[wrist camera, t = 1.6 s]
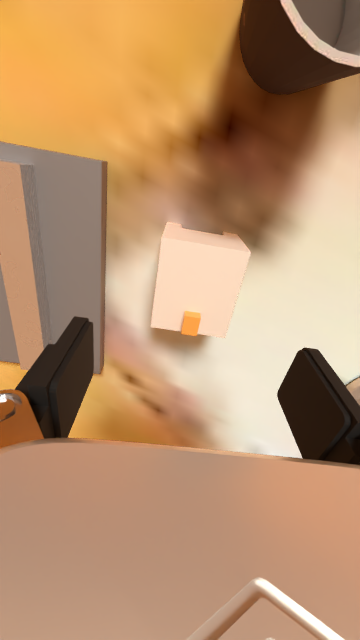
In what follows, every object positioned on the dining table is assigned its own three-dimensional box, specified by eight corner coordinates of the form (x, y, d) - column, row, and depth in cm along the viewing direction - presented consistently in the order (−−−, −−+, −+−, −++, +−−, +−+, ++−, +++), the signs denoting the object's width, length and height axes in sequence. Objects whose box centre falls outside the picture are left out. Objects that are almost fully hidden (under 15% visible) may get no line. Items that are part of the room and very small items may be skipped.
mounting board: (107, 161, 19) (101, 161, 18) (103, 364, 29) (99, 374, 28) (-61, 130, 19) (-80, 127, 17) (-6, 350, 29) (-15, 358, 27)
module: (237, 234, 22) (253, 255, 17) (217, 306, 25) (226, 343, 20) (167, 221, 22) (160, 240, 16) (157, 296, 25) (149, 332, 20)
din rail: (33, 164, 18) (19, 164, 17) (54, 360, 27) (46, 372, 26) (-3, 158, 18) (-21, 157, 17) (30, 357, 27) (20, 369, 26)
